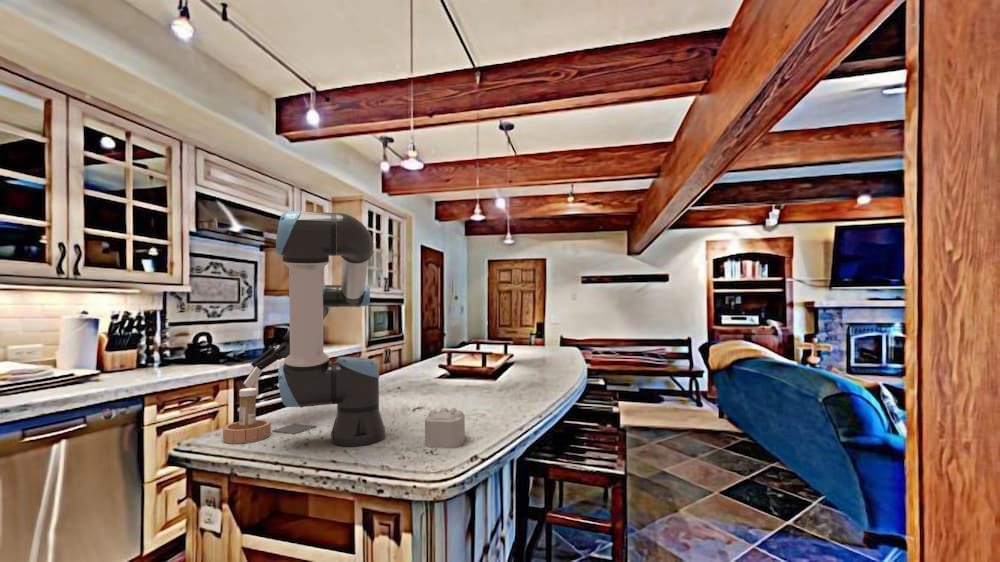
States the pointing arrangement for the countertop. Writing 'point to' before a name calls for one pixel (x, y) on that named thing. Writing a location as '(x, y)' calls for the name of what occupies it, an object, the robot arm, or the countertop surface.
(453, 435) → the lumpy-topped squat cylinder
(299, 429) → the rubber mat
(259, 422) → the terracotta bowl
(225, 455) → the countertop surface
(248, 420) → the sprinkles bottle
